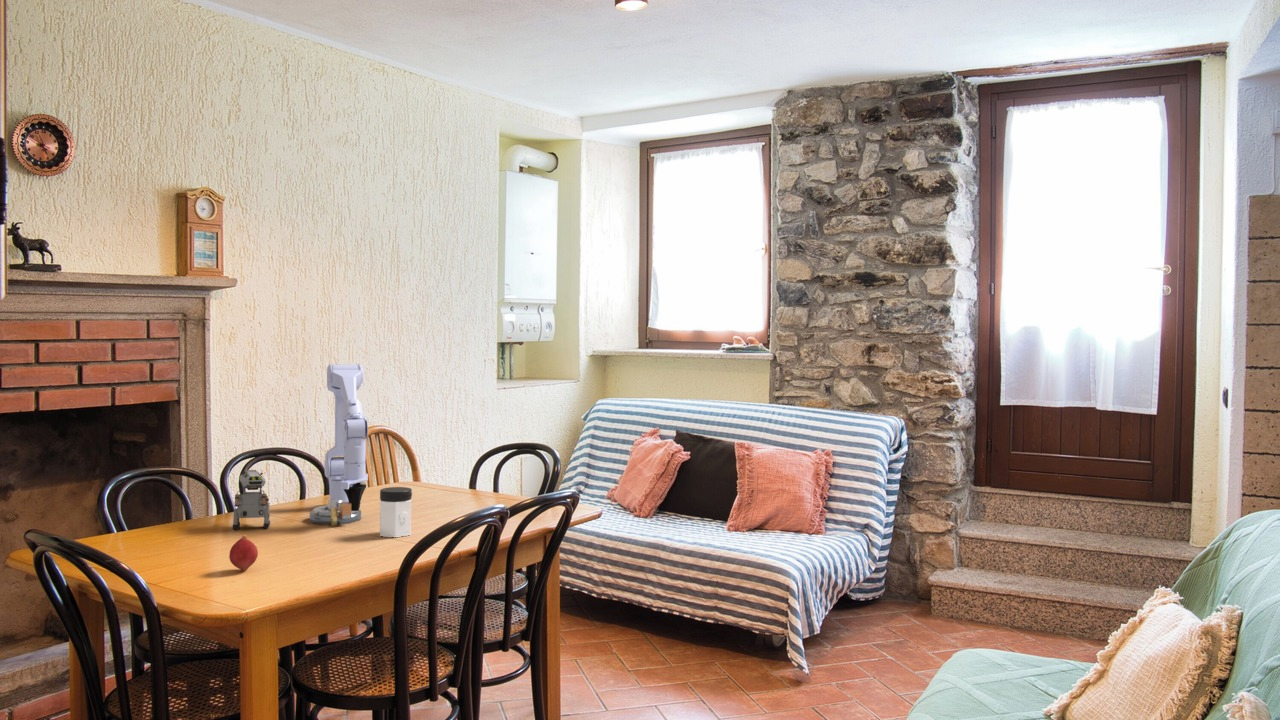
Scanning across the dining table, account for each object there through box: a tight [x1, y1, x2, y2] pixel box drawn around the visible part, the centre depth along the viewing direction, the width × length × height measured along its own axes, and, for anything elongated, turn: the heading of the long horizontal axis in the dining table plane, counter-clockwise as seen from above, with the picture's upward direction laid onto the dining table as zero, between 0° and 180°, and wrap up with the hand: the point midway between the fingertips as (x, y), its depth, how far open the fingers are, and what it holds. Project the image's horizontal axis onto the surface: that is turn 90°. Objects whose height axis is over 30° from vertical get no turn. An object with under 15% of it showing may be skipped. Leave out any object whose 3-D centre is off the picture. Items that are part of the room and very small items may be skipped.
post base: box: [308, 499, 362, 525], centre depth 259 cm, size 14×14×6 cm
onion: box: [228, 534, 259, 572], centre depth 203 cm, size 6×6×8 cm
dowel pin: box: [330, 508, 338, 527], centre depth 251 cm, size 2×2×5 cm
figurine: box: [232, 469, 271, 531], centre depth 248 cm, size 9×12×15 cm
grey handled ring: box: [312, 502, 358, 519], centre depth 257 cm, size 16×12×4 cm
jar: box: [379, 486, 413, 539], centre depth 242 cm, size 9×8×12 cm
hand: (354, 510), depth 254 cm, fingers closed, pressing on grey handled ring
